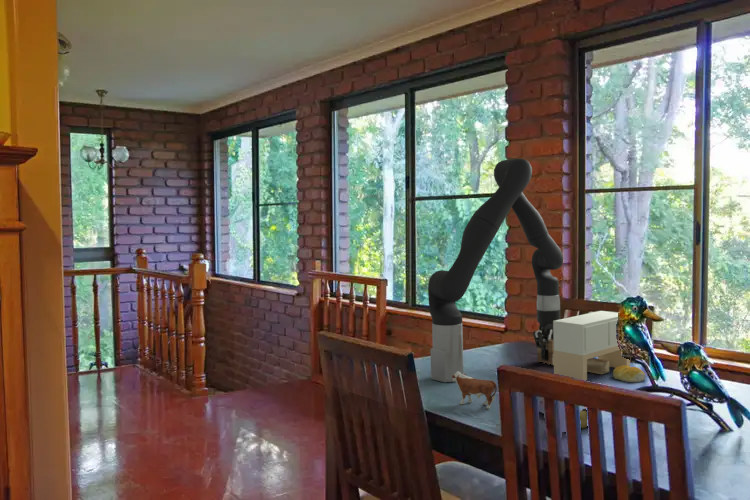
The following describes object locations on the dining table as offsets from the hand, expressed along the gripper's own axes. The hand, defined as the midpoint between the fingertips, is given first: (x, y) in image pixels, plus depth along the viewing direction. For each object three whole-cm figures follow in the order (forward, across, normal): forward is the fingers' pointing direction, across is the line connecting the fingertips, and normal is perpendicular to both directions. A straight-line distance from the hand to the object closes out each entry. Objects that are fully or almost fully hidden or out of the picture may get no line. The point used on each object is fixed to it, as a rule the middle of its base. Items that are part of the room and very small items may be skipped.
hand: (549, 358), depth 207 cm
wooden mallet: (+1, 0, -9) cm, 9 cm away
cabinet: (+1, -2, -17) cm, 18 cm away
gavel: (+2, -45, -35) cm, 57 cm away
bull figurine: (+1, -52, -14) cm, 54 cm away
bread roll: (+2, +1, -28) cm, 28 cm away
